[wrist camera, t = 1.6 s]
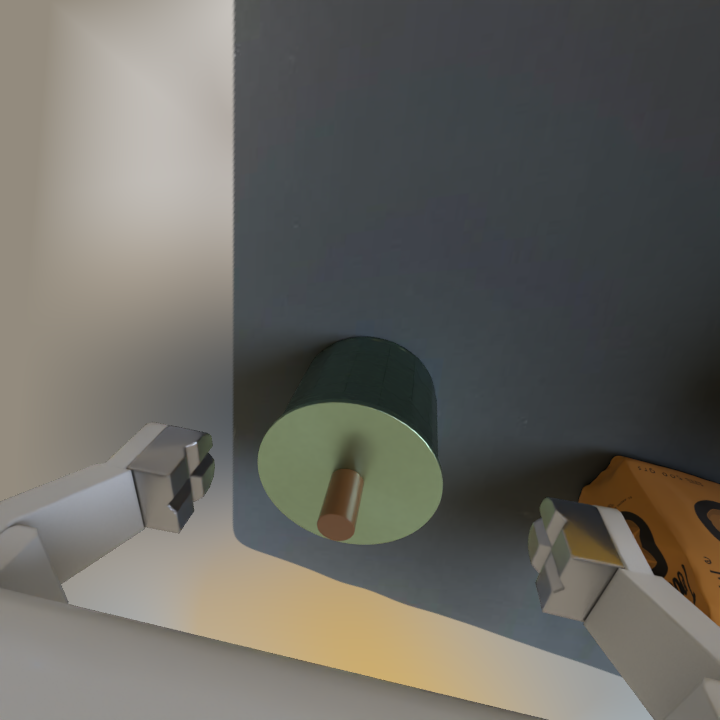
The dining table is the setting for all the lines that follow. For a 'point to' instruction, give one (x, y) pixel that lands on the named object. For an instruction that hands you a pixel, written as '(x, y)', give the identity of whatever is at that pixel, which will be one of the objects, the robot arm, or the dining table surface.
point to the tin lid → (350, 471)
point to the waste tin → (373, 381)
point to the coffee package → (668, 524)
